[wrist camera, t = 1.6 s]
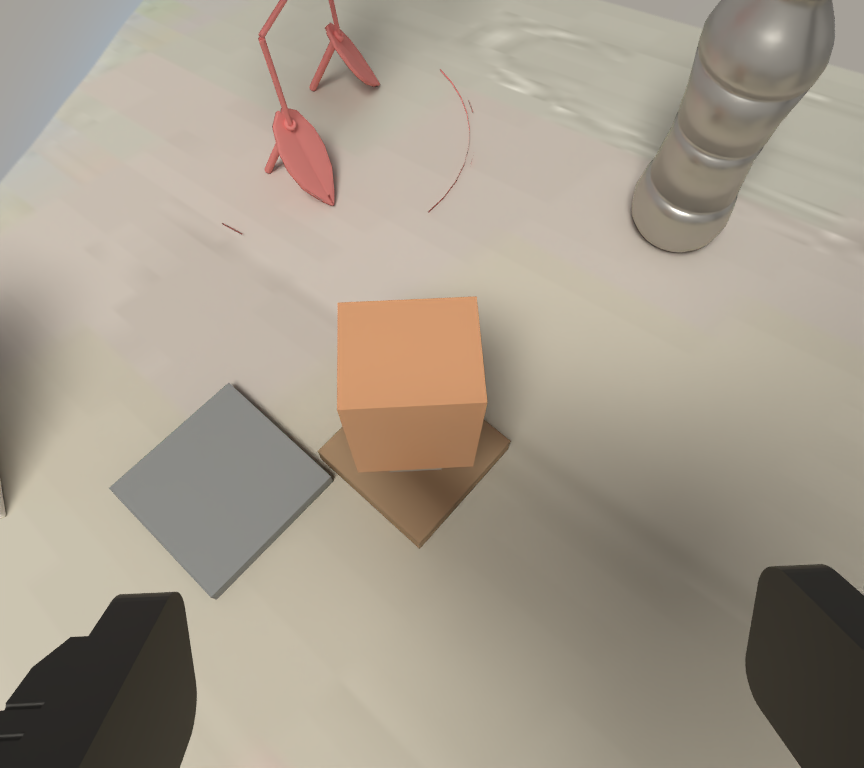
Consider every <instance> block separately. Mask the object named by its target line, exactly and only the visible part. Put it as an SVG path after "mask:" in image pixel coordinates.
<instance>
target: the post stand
mask: <svg viewBox="0 0 864 768" xmlns="http://www.w3.org/2000/svg"><path fill="white" fill-rule="evenodd" d="M510 442H511V441H510V440H509V439H507V438H506V437H505V436H504V435H502V434H501V433H500V432H499V431H497V430H496V429H495V428H494V427H492V426H491V425H490V424H489V423H488V422H486V421H485V420H483V425H482V429H481V434H480V438H479V443H478V447H477V452H476V456H475V461H474V465H473V466H472V467H453V468H435V469H416V470H397V471H378V472H359V473H358V471H357V468H356V465H355V462H354V459H353V456H352V453H351V450H350V447H349V444H348V441H347V438H346V435H345V432H344V429H343V427H342V428H341V429H340V430H339V431H338V432H337V433H336V434H335V435H334V436H333V437H332V438H331V439H330V440H329V441H328V442H327V443H326V444H325V445H324V446H323V447H321V448H320V449H319V450H318V453H319V455H320V457H321V459H322V460H323V461H324V462H325V463H326V464H327V465H328V466H330V467H331V468H332V469H333V470H334V471H335V472H336V473H337V474H338V475H339V476H341V477H342V478H343V479H344V480H345V481H346V482H347V483H348V484H349V485H350V486H351V487H353V488H354V489H355V490H356V491H357V492H358V493H359V494H360V495H361V496H362V497H364V498H365V499H366V500H367V501H368V502H369V503H370V504H371V505H372V506H373V507H374V508H376V509H377V510H378V511H379V512H380V513H381V514H382V515H383V516H384V517H385V518H386V519H388V520H389V521H390V522H391V523H392V524H393V525H394V526H395V527H396V528H397V529H399V530H400V531H401V532H402V533H403V534H404V535H405V536H406V537H407V538H408V539H409V540H411V541H412V542H413V543H414V544H415V545H416V546H417V547H418V548H419V549H420V548H421V547H422V546H423V544H424V543H425V542H426V541H427V540H428V539H429V538H430V537H431V535H432V534H433V533H434V532H435V531H436V530H437V529H438V528H439V526H440V525H441V524H442V523H443V522H444V521H445V520H446V518H447V517H448V516H449V515H450V514H451V513H452V512H453V511H454V509H455V508H456V507H457V506H458V505H459V504H460V503H461V502H462V500H463V499H464V498H465V497H466V496H467V495H468V494H469V493H470V491H471V490H472V489H473V488H474V487H475V486H476V485H477V484H478V482H479V481H480V480H481V479H482V478H483V477H484V476H485V474H486V473H487V472H488V471H489V470H490V469H491V468H492V467H493V465H494V464H495V463H496V462H497V461H498V460H499V459H500V458H501V456H502V455H503V454H504V453H505V452H506V451H507V450H508V447H509V444H510Z"/></svg>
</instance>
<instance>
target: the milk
mask: <svg viewBox="0 0 864 768" xmlns="http://www.w3.org/2000/svg"><path fill="white" fill-rule="evenodd" d="M5 516H6V513H5V506H4V500H3V493H2V487H1V480H0V518H3V517H5Z"/></svg>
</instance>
